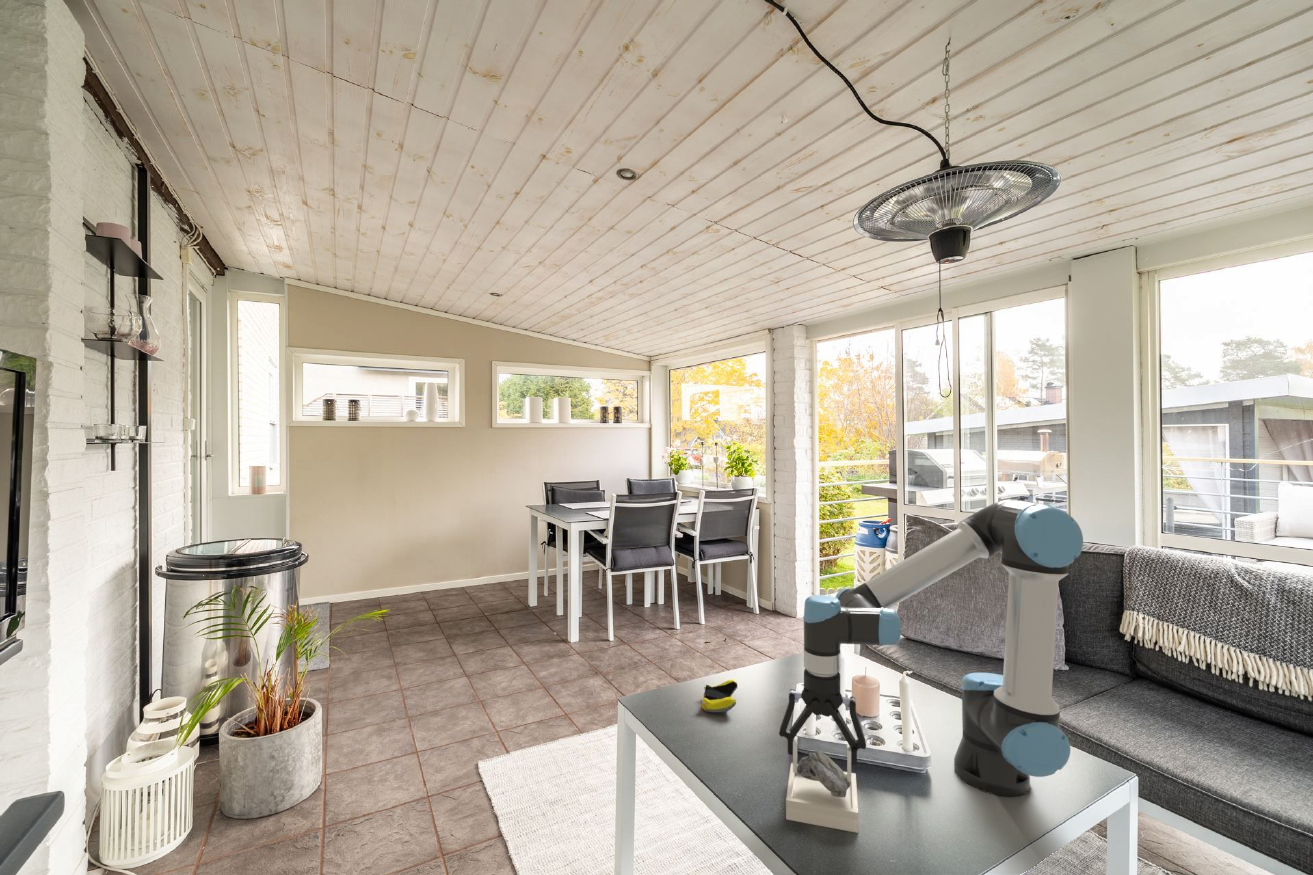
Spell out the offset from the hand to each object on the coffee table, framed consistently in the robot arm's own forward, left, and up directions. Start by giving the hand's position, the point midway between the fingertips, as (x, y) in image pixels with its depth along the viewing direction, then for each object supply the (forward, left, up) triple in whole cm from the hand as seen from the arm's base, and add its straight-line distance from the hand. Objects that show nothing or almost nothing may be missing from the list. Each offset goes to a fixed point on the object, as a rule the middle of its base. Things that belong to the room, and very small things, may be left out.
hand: (821, 773), depth 124 cm
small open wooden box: (0, 0, -7) cm, 7 cm away
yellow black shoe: (+30, -39, -7) cm, 49 cm away
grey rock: (0, 0, -2) cm, 2 cm away
